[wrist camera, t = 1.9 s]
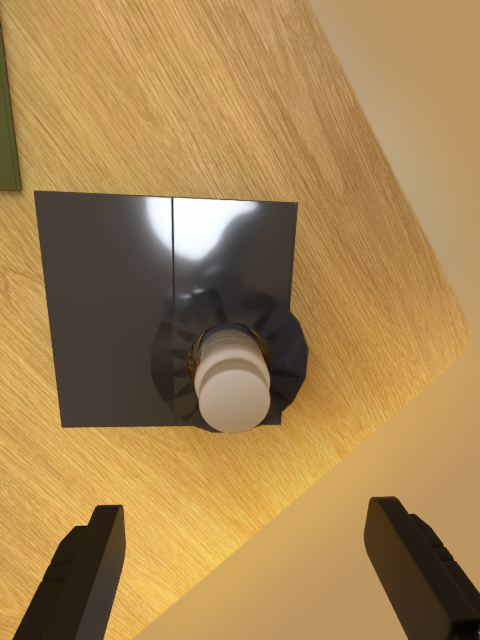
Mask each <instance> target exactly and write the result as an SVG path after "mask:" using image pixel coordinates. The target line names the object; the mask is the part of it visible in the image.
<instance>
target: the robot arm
mask: <svg viewBox="0 0 480 640" xmlns="http://www.w3.org/2000/svg"><path fill="white" fill-rule="evenodd" d="M364 542H365V547H366V551H367V554H368V556H369V558H370V560H371V563H372V565H373V567H374V569H375V571H376V573H377V575H378V577H379V579H380V581H381V583H382V586H383V588H384V590H385V592H386V594H387V596H388V598H389V600H390V602H391V604H392V606H393V609H394V611H395V613H396V615H397V617H398V619H399V621H400V623H401V625H402V627H403V629H404V631H405V633H406V636H407V638H408V640H480V593H479V592H478V590H477V589H476V588H475V586H474V585H473V584H472V582H471V581H470V580H469V578H468V577H467V576H466V574H465V573H464V571H463V570H462V569H461V567H460V566H459V565H458V563H457V562H456V561H454V559H453V557H452V555H451V554H450V553H449V551H448V550H447V548H446V547H444V546H443V543H442V542H441V540H440V539H439V538H438V536H437V535H436V534H435V533H434V531H433V530H432V528H431V527H430V526H429V525H427V524H426V523H425V522H424V521H423V520H421V519H420V518H419V517H418V516H417V515H415V514H408V512H407V511H406V510H405V508H404V507H403V505H402V504H401V503H400V501H399V500H398V499H397V498H396V497H394V496H391V497H372V498H371V499H370V501H369V506H368V512H367V518H366V524H365V530H364ZM125 549H126V539H125V524H124V510H123V505H98V506H96V508H95V509H94V512H93V514H92V516H91V519H90V521H89V523H88V526H75V527H74V528H73V529H72V530H71V531H70V532H69V534H68V535H67V536H66V537H65V538H64V539H63V540H62V541H61V542H60V544H59V546H58V548H57V550H56V552H55V554H54V556H53V558H52V560H51V564H50V565H49V566H48V568H47V570H46V572H45V574H44V576H43V580H42V582H41V583H40V585H39V587H38V589H37V591H36V593H35V595H34V597H33V599H32V601H31V603H30V605H29V607H28V609H27V611H26V613H25V615H24V617H23V619H22V621H21V623H20V625H19V627H18V629H17V631H16V633H15V635H14V637H13V639H12V640H103V639H104V635H105V631H106V627H107V624H108V620H109V616H110V613H111V609H112V605H113V601H114V598H115V594H116V590H117V587H118V583H119V579H120V575H121V572H122V568H123V564H124V558H125Z"/></svg>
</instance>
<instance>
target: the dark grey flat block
mask: <svg viewBox="0 0 480 640" xmlns="http://www.w3.org/2000/svg"><path fill="white" fill-rule="evenodd" d="M34 198H35V206H36V215H37V223H38V231H39V240H40V248H41V257H42V265H43V273H44V282H45V290H46V299H47V307H48V316H49V324H50V332H51V341H52V349H53V358H54V366H55V375H56V383H57V391H58V400H59V408H60V417H61V425H62V428H74V427H149V426H195V427H198V428H201V429H204V430H207V431H209V432H212V433H213V432H214V433H225V432H221V431H219V430H216V429H215V428H213V427H211V426H210V425H209V424H208V423H207V422H206V421H205V419H204V418H203V416H202V414H201V412H200V408H199V398H198V396H197V394H196V391H195V382H194V380H195V372H196V366H195V364H194V362H193V360H192V357H191V348H192V346H193V344H194V341H195V340H196V339H197V338H198V337H199V336H200V335H201V334H203V333H204V332H205V331H206V330H207V329H210V328H212V327H215V326H218V325H220V324H223V323H224V324H242V325H244V326H246V327H249V328H251V329H254V330H255V331H256V332H257V333H258V334H259V335H260V336H261V337H262V338H263V339H264V341H265V357H264V361H265V363H266V366H267V368H268V371H269V375H270V387H269V394H270V406H269V410H268V412H267V414H266V416H265V417H264V419H263V420H262V421H261V422H260V423H259V424H258V425H257V426H256V427H258V426H261V425H281V416H282V411H284V410H285V409H286V408H287V407H288V406H289V405H291V404H292V403H293V401H294V399H295V397H296V395H297V393H298V391H299V390H300V388H301V386H302V384H303V382H304V380H305V378H306V370H307V359H308V346H307V343H306V340H305V337H304V334H303V331H302V328H301V325H300V322H299V321H298V320H297V318H296V317H295V316H294V315H293V314H292V313H291V312H290V299H291V286H292V273H293V260H294V247H295V234H296V221H297V208H298V202H296V203H295V202H275V201H253V200H231V199H210V198H188V197H173V198H172V197H166V196H144V195H122V194H100V193H79V192H57V191H34ZM254 428H255V427H254ZM252 429H253V428H252Z"/></svg>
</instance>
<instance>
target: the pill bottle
mask: <svg viewBox="0 0 480 640" xmlns="http://www.w3.org/2000/svg"><path fill="white" fill-rule="evenodd" d="M194 382H195V391H196V394H197V396H198V398H199V408H200V412H201V414H202V416H203V418H204V419H205V421H206V422H207V423H208V424H209V425H210V426H211V427H213V428H215V429H216V430H219V431H221V432H225V433H242V432H246V431H248V430H250V429H252V428H254V427H256V426H257V425H258V424H259V423H260V422H261V421H262V420H263V419H264V417H265V416H266V414H267V412H268V410H269V406H270V394H269V387H270V375H269V371H268V368H267V366H266V363H265V361H264V358H263V356H262V353H261V350H260V348H259V345H258V342H257V340H256V337H255V336H254V334H253V333H252V332H251V331H250V330H249V329H248V328H247V327H245V326H244V325H242V324H224V323H223V324H220V325H218V326H215V327H212V328H210V329H208V330H207V331H206V332H205V334H204V335H203V336H202V338H201V341H200V343H199V348H198V357H197V364H196V372H195V380H194Z"/></svg>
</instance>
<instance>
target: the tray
mask: <svg viewBox="0 0 480 640" xmlns="http://www.w3.org/2000/svg"><path fill="white" fill-rule="evenodd" d="M0 190H12V191H21V183H20V175H19V167H18V160H17V152H16V144H15V136H14V128H13V120H12V113H11V105H10V97H9V89H8V81H7V73H6V66H5V58H4V50H3V42H2V34H1V26H0Z"/></svg>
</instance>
